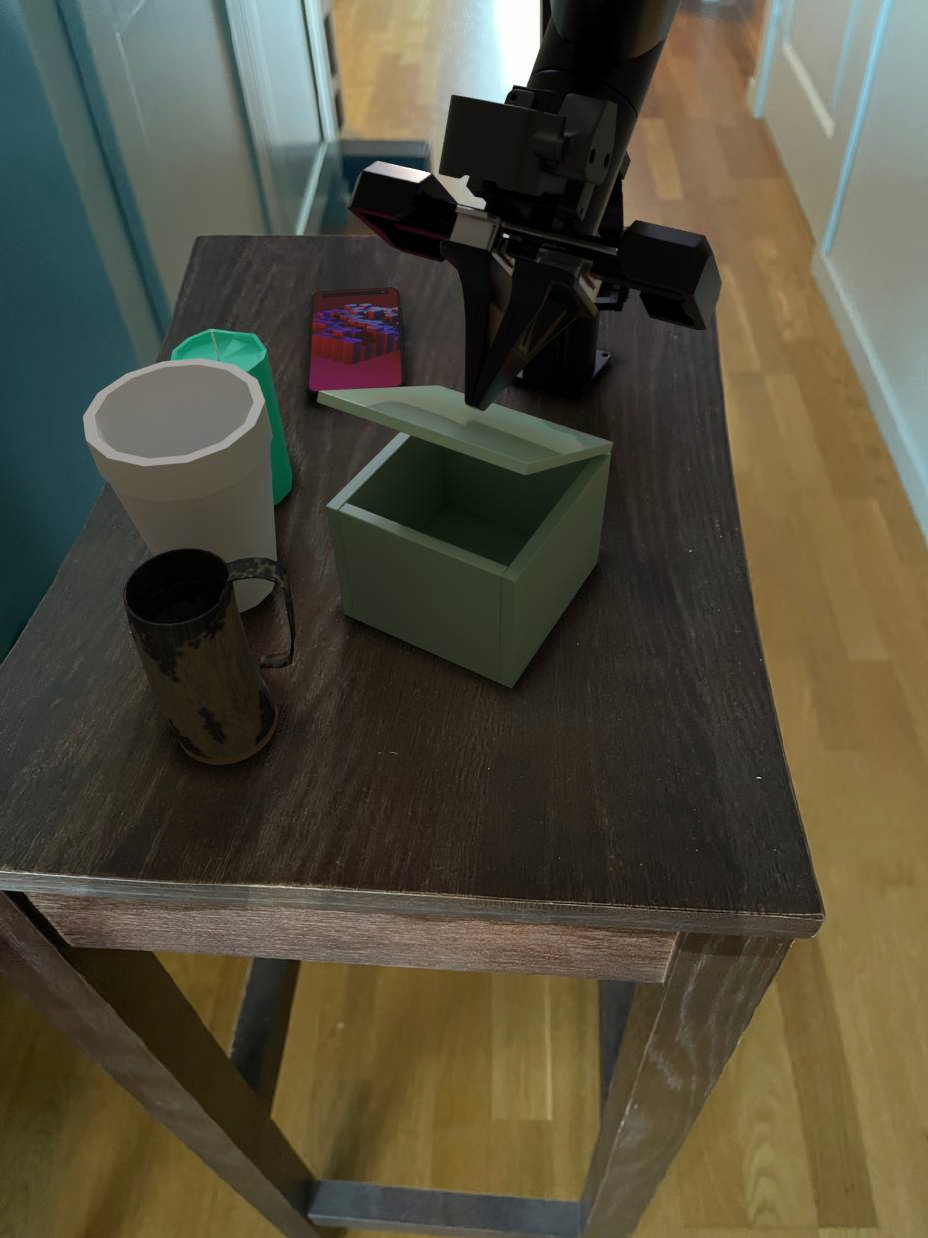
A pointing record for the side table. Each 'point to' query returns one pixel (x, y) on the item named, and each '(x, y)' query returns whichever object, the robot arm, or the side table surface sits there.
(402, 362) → the smartphone
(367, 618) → the green bin
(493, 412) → the bin lid
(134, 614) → the mug
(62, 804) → the side table surface
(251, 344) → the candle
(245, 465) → the foam cup
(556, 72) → the robot arm
